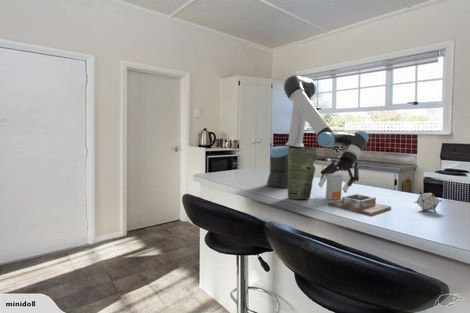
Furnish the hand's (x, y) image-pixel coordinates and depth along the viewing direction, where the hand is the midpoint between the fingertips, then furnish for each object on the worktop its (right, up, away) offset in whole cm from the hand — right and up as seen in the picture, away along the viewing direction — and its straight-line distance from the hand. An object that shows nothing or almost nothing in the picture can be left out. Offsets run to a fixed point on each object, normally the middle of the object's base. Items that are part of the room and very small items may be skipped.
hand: (331, 188), depth 140 cm
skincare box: (+2, -5, +2) cm, 6 cm away
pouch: (-15, -5, +2) cm, 16 cm away
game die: (+34, -8, -19) cm, 39 cm away
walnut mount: (+7, -7, -14) cm, 17 cm away
